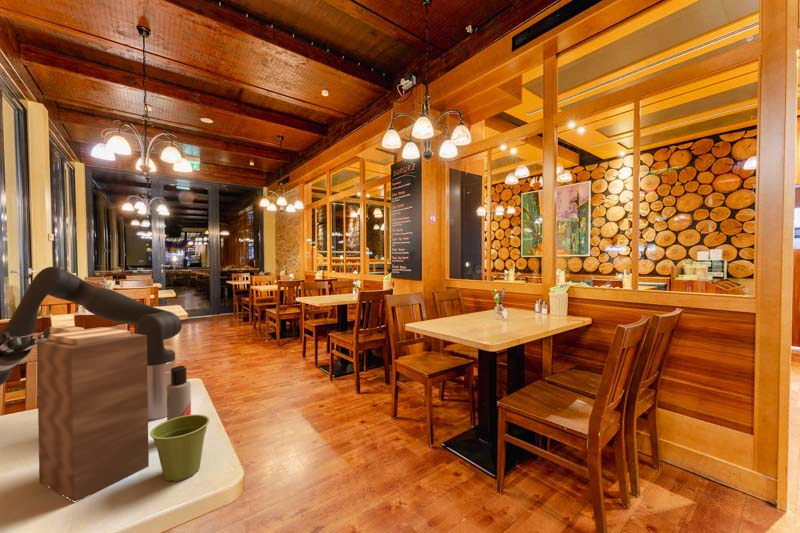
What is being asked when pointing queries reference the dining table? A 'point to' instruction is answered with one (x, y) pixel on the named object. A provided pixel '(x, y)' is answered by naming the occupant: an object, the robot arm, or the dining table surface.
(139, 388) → the walnut plinth
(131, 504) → the dining table surface
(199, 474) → the dining table surface
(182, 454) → the plant pot
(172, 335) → the robot arm
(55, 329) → the tan stepped slab
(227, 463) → the dining table surface
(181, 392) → the lotion bottle
